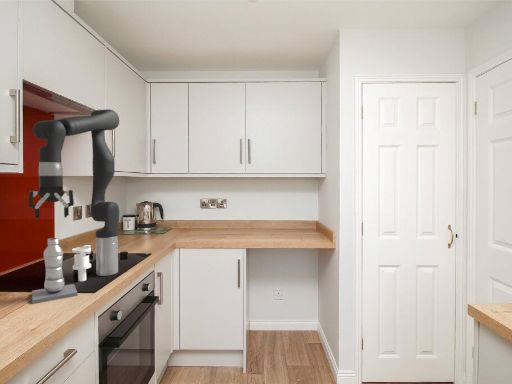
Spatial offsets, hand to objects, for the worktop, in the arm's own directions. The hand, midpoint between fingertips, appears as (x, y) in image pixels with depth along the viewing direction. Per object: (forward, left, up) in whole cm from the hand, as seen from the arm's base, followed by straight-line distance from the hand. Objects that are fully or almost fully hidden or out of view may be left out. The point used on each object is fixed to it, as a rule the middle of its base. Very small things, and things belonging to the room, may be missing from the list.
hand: (52, 218), depth 122 cm
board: (0, 0, -29) cm, 29 cm away
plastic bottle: (0, 0, -28) cm, 28 cm away
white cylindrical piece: (-14, +11, -29) cm, 34 cm away
